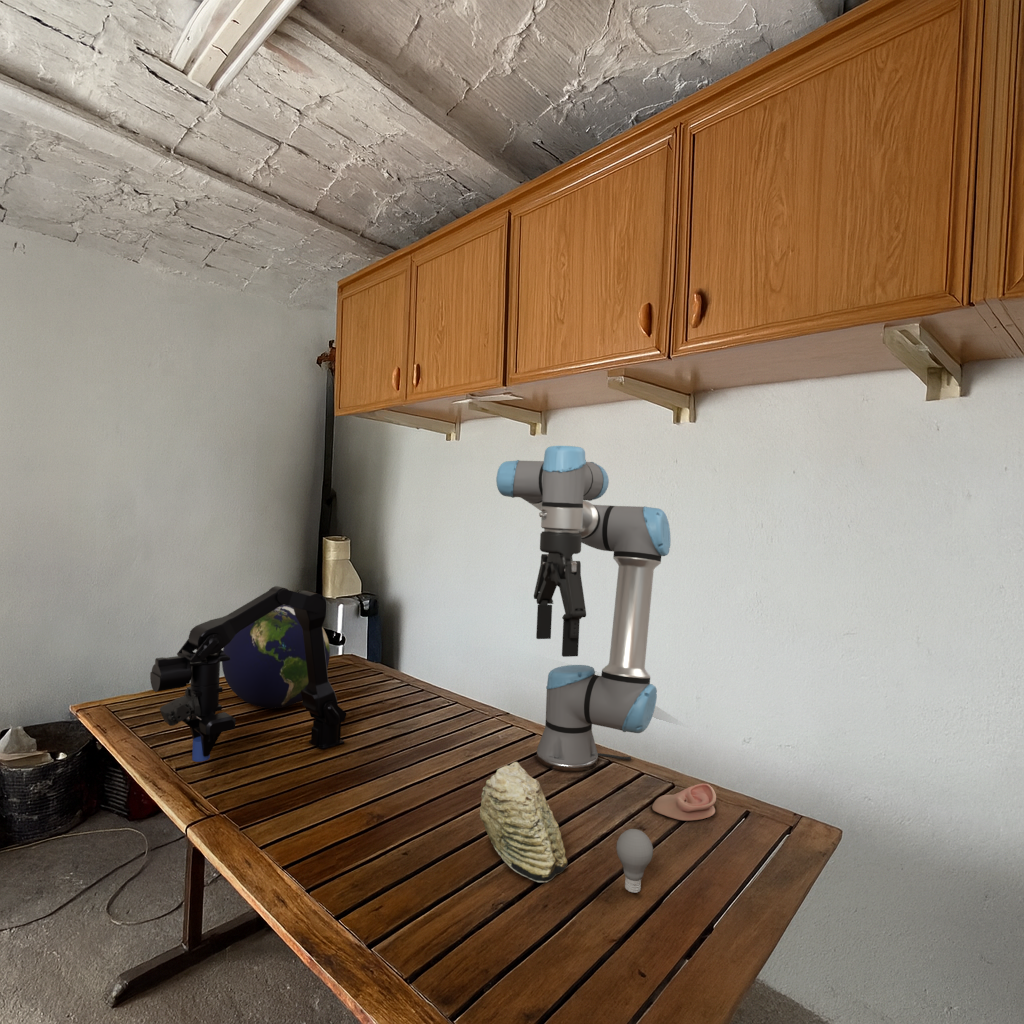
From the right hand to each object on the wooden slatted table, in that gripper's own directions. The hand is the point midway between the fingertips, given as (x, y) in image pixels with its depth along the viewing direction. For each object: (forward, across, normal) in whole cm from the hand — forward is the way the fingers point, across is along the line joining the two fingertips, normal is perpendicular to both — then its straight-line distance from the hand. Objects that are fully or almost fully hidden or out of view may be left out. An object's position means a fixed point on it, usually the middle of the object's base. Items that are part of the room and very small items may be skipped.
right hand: (555, 647), depth 116 cm
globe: (+38, -91, -53) cm, 112 cm away
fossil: (+38, 0, -5) cm, 38 cm away
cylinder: (+33, -43, -65) cm, 85 cm away
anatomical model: (+38, -9, +34) cm, 52 cm away
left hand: (+32, -44, -65) cm, 85 cm away
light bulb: (+38, +14, +10) cm, 42 cm away
